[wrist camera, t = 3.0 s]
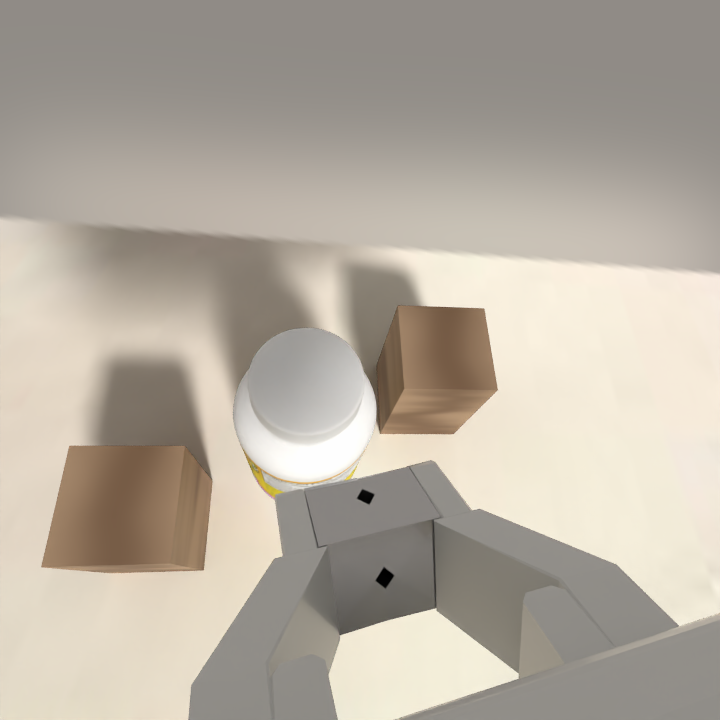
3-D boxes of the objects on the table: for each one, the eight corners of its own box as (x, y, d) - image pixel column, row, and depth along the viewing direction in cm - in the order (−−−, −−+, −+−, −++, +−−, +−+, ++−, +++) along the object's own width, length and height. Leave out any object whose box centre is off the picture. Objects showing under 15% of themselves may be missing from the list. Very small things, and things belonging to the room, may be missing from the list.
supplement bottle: (267, 396, 32) (250, 289, 20) (364, 418, 32) (401, 323, 21) (236, 497, 29) (197, 438, 17) (343, 521, 29) (374, 477, 18)
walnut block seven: (380, 433, 32) (404, 388, 25) (376, 363, 34) (397, 303, 27) (453, 434, 32) (497, 390, 25) (445, 364, 35) (483, 306, 27)
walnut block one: (110, 573, 27) (41, 567, 19) (126, 479, 29) (70, 442, 22) (203, 570, 27) (170, 563, 20) (212, 478, 29) (185, 442, 22)
